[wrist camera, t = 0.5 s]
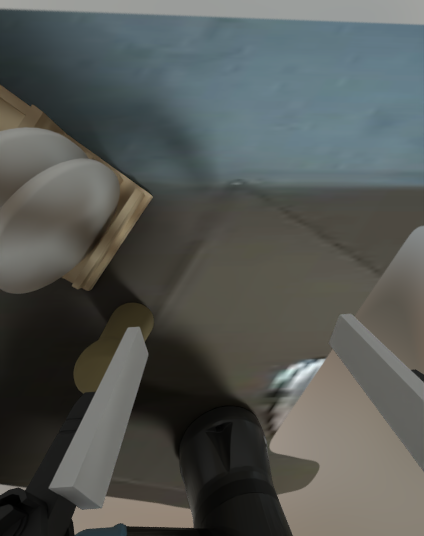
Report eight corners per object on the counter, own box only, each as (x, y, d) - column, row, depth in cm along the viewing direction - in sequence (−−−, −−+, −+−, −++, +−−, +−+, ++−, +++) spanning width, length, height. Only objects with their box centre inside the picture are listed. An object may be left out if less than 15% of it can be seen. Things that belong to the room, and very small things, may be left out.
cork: (160, 311, 26) (147, 360, 16) (144, 346, 27) (120, 417, 16) (120, 296, 25) (75, 338, 14) (103, 333, 25) (47, 402, 15)
